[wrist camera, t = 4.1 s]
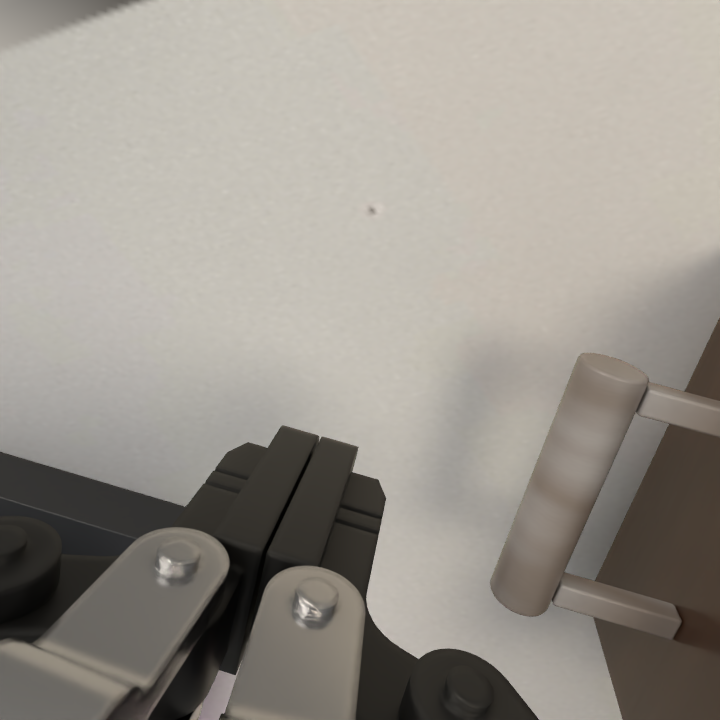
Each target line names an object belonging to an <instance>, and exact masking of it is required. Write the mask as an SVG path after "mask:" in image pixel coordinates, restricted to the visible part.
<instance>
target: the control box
mask: <svg viewBox="0 0 720 720" xmlns="http://www.w3.org/2000/svg"><path fill="white" fill-rule="evenodd" d="M185 508H186V507H183V506H180V505H176V504H173V503H170V502H166V501H163V500H159V499H156V498H153V497H149V496H146V495H143V494H139V493H136V492H133V491H129V490H126V489H123V488H119V487H116V486H112V485H109V484H106V483H102V482H99V481H96V480H92V479H89V478H86V477H82V476H79V475H75V474H72V473H69V472H65V471H62V470H59V469H55V468H52V467H49V466H45V465H42V464H39V463H35V462H32V461H28V460H25V459H22V458H18V457H15V456H12V455H8V454H5V453H2V452H0V516H23V517H30V518H34V519H37V520H40V521H43V522H45V523H47V524H49V525H50V526H51V527H53V528H54V529H55V530H56V531H57V533H58V534H59V536H60V538H61V543H62V551H61V554H68V555H87V556H117V555H121V554H122V553H123V552H124V551H125V550H126V549H127V548H128V547H129V546H130V545H131V544H132V543H133V542H134V541H136V540H137V539H138V538H140V537H141V536H143V535H145V534H147V533H149V532H152V531H155V530H158V529H163V528H171V526H172V525H173V524H174V522H175V521H176V520H177V518H178V517H179V516H180V514H181V513H182V512H183V510H184V509H185Z"/></svg>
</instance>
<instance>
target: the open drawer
mask: <svg viewBox="0 0 720 720" xmlns="http://www.w3.org/2000/svg"><path fill="white" fill-rule="evenodd" d="M635 412H637V414H638V415H639V416H642V417H646V418H650V419H653V420H657V421H661V422H664V423H668V424H669V426H668V428H667V430H666V432H665V434H664V436H663V438H662V440H661V442H660V445H659V447H658V449H657V451H656V453H655V455H654V457H653V459H652V461H651V464H650V466H649V468H648V470H647V472H646V474H645V476H644V478H643V480H642V483H641V485H640V487H639V489H638V491H637V493H636V495H635V497H634V499H633V502H632V504H631V506H630V508H629V510H628V512H627V514H626V516H625V518H624V521H623V523H622V525H621V527H620V529H619V531H618V533H617V535H616V537H615V540H614V542H613V544H612V546H611V548H610V550H609V552H608V554H607V556H606V559H605V561H604V563H603V565H602V567H601V569H600V571H599V573H598V575H597V578H596V580H595V581H593V580H589V579H586V578H582V577H579V576H576V575H572V574H569V573H565V572H564V571H565V569H566V566H567V564H568V562H569V560H570V557H571V555H572V553H573V551H574V549H575V546H576V544H577V542H578V540H579V537H580V535H581V533H582V531H583V528H584V526H585V524H586V522H587V519H588V517H589V515H590V513H591V510H592V508H593V506H594V504H595V502H596V499H597V497H598V495H599V493H600V490H601V488H602V486H603V484H604V481H605V479H606V477H607V475H608V472H609V470H610V468H611V466H612V463H613V461H614V459H615V457H616V455H617V452H618V450H619V448H620V446H621V443H622V441H623V439H624V437H625V434H626V432H627V430H628V428H629V425H630V423H631V421H632V419H633V416H634V414H635ZM490 585H491V590H492V592H493V594H494V596H495V597H496V599H497V600H498V601H499V602H500V603H501V604H502V605H504V606H505V607H506V608H508V609H509V610H511V611H513V612H515V613H517V614H520V615H524V616H532V617H533V616H539V615H541V614H543V613H544V612H545V611H546V610H547V609H548V607H549V604H550V602H551V600H552V602H553V604H554V605H555V606H558V607H562V608H565V609H568V610H572V611H575V612H578V613H582V614H585V615H589V616H592V617H594V621H595V624H596V628H597V631H598V635H599V638H600V642H601V645H602V649H603V652H604V656H605V659H606V663H607V666H608V670H609V673H610V677H611V680H612V684H613V687H614V691H615V694H616V698H617V701H618V705H619V708H620V712H621V715H622V719H623V720H720V318H719V320H718V322H717V324H716V326H715V328H714V331H713V333H712V335H711V337H710V339H709V341H708V343H707V345H706V347H705V350H704V352H703V354H702V356H701V358H700V360H699V362H698V364H697V366H696V369H695V371H694V373H693V375H692V377H691V379H690V381H689V383H688V385H687V388H686V390H685V392H684V391H680V390H677V389H673V388H669V387H665V386H662V385H658V384H654V383H651V382H649V379H648V377H647V375H646V374H645V373H643V372H642V371H641V370H639V369H638V368H636V367H634V366H632V365H630V364H628V363H626V362H624V361H621V360H619V359H616V358H613V357H609V356H606V355H601V354H596V353H583V354H581V355H580V356H579V357H578V359H577V361H576V364H575V366H574V369H573V371H572V374H571V376H570V379H569V382H568V384H567V387H566V389H565V392H564V394H563V397H562V399H561V402H560V404H559V407H558V410H557V412H556V415H555V417H554V420H553V422H552V425H551V427H550V430H549V432H548V435H547V438H546V440H545V443H544V445H543V448H542V450H541V453H540V455H539V458H538V460H537V463H536V465H535V468H534V471H533V473H532V476H531V478H530V481H529V483H528V486H527V488H526V491H525V493H524V496H523V499H522V501H521V504H520V506H519V509H518V511H517V514H516V516H515V519H514V521H513V524H512V527H511V529H510V532H509V534H508V537H507V539H506V542H505V544H504V547H503V549H502V552H501V554H500V557H499V560H498V562H497V565H496V567H495V570H494V572H493V575H492V577H491V581H490Z"/></svg>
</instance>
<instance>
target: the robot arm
mask: <svg viewBox="0 0 720 720" xmlns="http://www.w3.org/2000/svg"><path fill="white" fill-rule="evenodd" d="M357 451H358V447H357V446H354V445H350V444H347V443H343V442H340V441H336V440H333V439H329V438H326V437H321V439H320V441H319V436H318V435H315V434H311V433H308V432H304V431H301V430H297V429H294V428H290V427H287V426H281V428H280V429H279V431H278V432H277V434H276V436H275V437H274V439H273V440H272V442H271V443H270V445H269V447H268V448H266V447H262V446H259V445H255V444H252V443H249V442H248V443H246V444H244V445H241V446H239V447H237V448H235V449H233V450H231V451H229V452H227V454H226V455H225V456H224V458H223V459H222V460H221V462H220V463H219V464H218V466H217V467H216V469H215V471H213V472H212V473H211V475H210V476H209V477H208V479H207V480H206V483H205V484H203V485H202V487H201V488H200V489H199V491H198V492H197V493H196V495H195V496H194V497H193V499H192V500H191V501H190V503H189V504H188V505H187V506H186V508H185V509H184V510H183V512H182V513H181V514H180V516H179V517H178V518H177V520H176V521H175V522H174V524H173V525H172V526H171V528H163V529H158V530H155V531H152V532H149V533H147V534H145V535H143V536H141V537H140V538H138V539H137V540H136V541H134V542H133V543H132V544H131V545H130V546H129V547H128V548H127V549H126V550H125V551H124V552H123V553H122V554H121V555H117V556H87V555H68V554H61V551H62V543H61V538H60V536H59V534H58V533H57V531H56V530H55V529H54V528H53V527H51V526H50V525H49V524H47V523H45V522H43V521H40V520H37V519H34V518H30V517H23V516H0V720H198V718H199V716H200V714H201V709H202V705H203V701H204V699H205V698H206V696H207V694H208V692H209V690H210V688H211V686H212V684H213V681H214V679H215V677H216V675H217V673H218V670H221V671H224V672H227V673H231V674H234V675H236V673H237V670H238V668H239V666H240V668H239V671H238V674H237V677H236V680H235V683H234V687H233V690H232V693H231V696H230V699H229V702H228V705H227V708H226V711H225V713H224V714H221V716H220V718H219V720H539V719H538V718H537V717H536V715H535V714H534V713H533V712H532V710H531V709H530V708H529V707H528V705H527V704H526V703H525V702H524V700H523V699H522V698H521V697H520V695H519V694H518V693H517V692H516V690H515V689H514V688H513V686H512V685H511V684H510V683H509V681H508V680H507V679H506V678H505V677H504V676H503V675H502V674H501V673H500V672H499V671H498V670H497V669H496V668H495V667H494V666H492V665H491V664H489V663H488V662H487V661H485V660H483V659H481V658H480V657H478V656H476V655H473V654H471V653H468V652H465V651H461V650H456V649H439V650H434V651H431V652H429V653H427V654H425V655H424V656H422V657H421V658H420V659H417V658H416V657H414V656H413V655H411V654H409V653H408V652H406V651H404V650H403V649H401V648H400V647H398V646H397V645H395V644H394V643H392V642H391V641H390V640H389V639H388V638H387V637H385V636H384V635H383V634H382V632H381V631H380V630H379V629H378V628H377V626H376V625H375V623H374V622H373V620H372V618H371V616H370V614H369V611H368V608H367V602H366V595H367V589H368V584H369V579H370V574H371V569H372V564H373V560H374V555H375V550H376V545H377V540H378V534H379V530H380V525H381V519H382V516H383V511H384V506H385V501H386V497H385V495H384V492H383V490H382V488H381V485H380V483H379V480H377V479H374V478H370V477H367V476H363V475H360V474H356V473H353V472H352V470H353V467H354V463H355V459H356V455H357ZM241 661H242V662H241ZM240 663H241V665H240Z"/></svg>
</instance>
